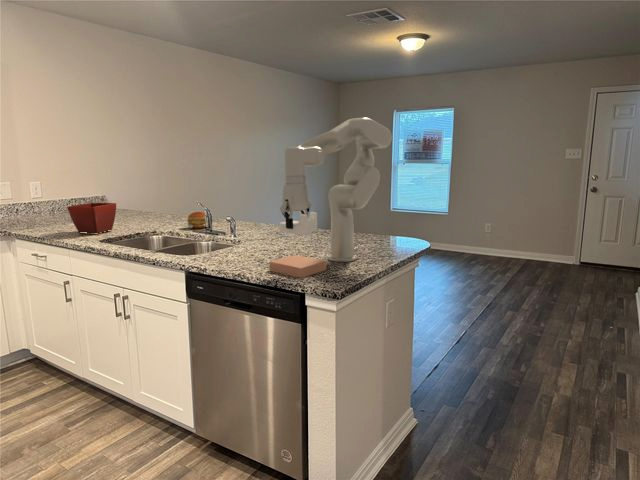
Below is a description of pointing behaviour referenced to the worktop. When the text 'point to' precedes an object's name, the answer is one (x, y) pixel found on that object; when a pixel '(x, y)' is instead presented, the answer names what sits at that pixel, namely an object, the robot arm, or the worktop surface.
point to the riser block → (297, 266)
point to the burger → (196, 220)
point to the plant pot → (93, 217)
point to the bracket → (301, 225)
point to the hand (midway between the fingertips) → (296, 226)
